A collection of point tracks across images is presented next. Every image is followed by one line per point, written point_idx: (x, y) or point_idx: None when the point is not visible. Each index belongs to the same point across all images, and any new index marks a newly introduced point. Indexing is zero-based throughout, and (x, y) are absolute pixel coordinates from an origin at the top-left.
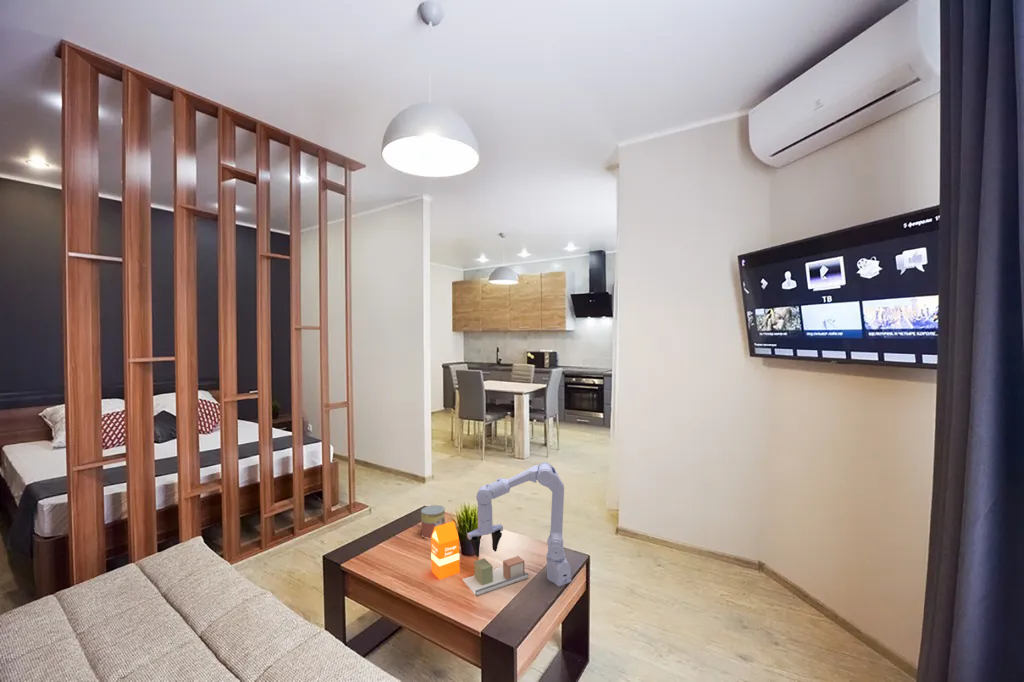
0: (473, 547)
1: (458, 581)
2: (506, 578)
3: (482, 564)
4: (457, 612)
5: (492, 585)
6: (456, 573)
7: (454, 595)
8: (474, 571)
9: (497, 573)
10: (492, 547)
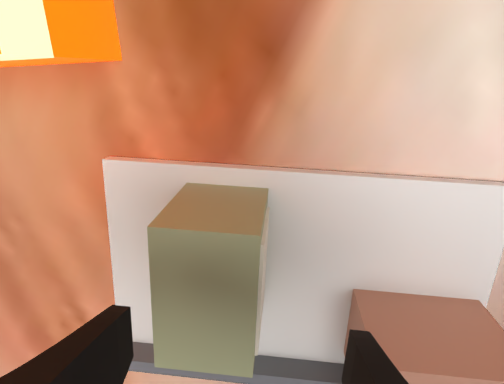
0: (40, 360)
1: (87, 141)
2: (348, 326)
3: (192, 312)
4: (10, 370)
5: (214, 375)
6: (88, 61)
7: (27, 255)
8: (175, 198)
9: (341, 240)
10: (354, 341)
